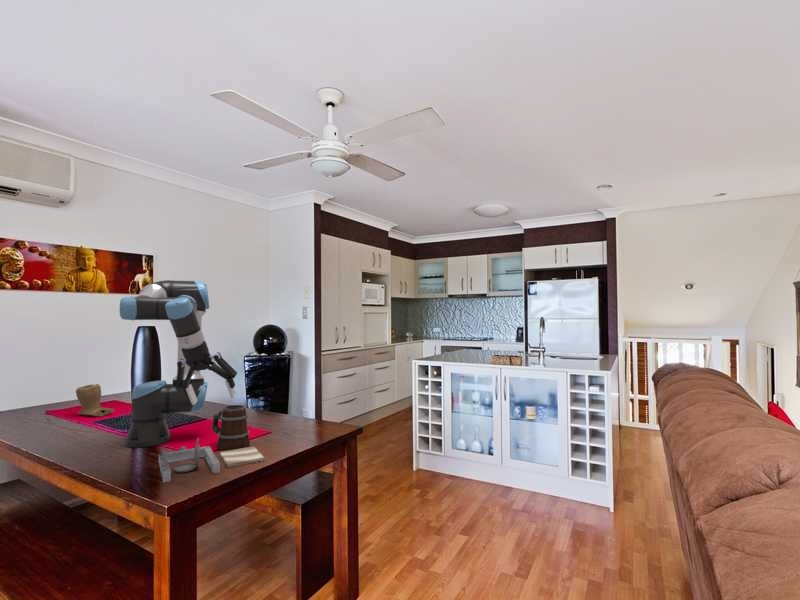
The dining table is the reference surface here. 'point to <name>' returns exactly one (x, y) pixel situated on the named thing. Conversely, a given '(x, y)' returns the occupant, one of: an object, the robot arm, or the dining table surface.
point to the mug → (231, 428)
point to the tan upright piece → (91, 401)
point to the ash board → (241, 456)
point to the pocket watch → (190, 466)
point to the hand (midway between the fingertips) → (214, 399)
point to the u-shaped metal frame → (186, 455)
